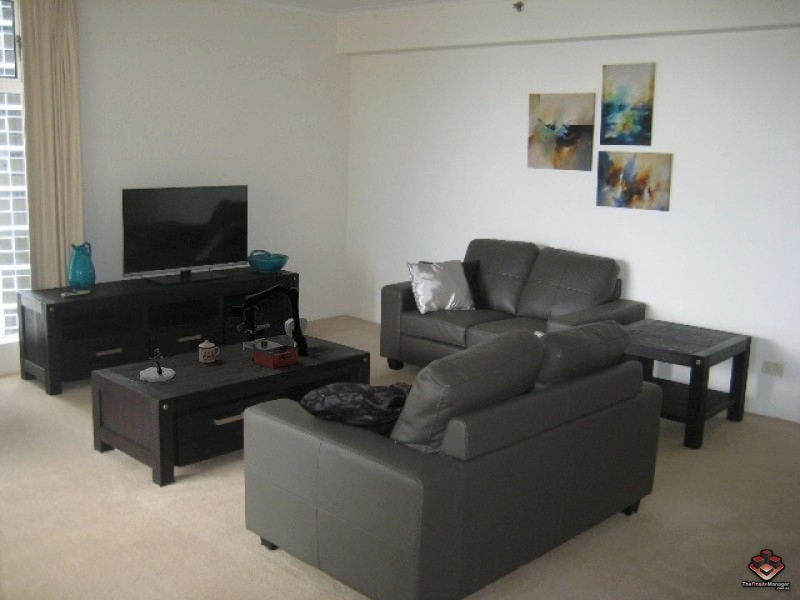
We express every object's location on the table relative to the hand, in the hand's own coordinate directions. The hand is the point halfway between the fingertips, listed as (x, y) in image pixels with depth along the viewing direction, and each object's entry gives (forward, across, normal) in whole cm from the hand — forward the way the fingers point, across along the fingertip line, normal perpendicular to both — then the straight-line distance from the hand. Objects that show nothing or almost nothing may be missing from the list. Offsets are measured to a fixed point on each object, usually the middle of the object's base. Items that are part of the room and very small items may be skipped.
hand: (250, 344), depth 503 cm
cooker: (+7, +24, 0) cm, 25 cm away
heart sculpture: (+7, +5, +30) cm, 31 cm away
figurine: (+7, 0, -62) cm, 62 cm away
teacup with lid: (+6, -6, -24) cm, 26 cm away
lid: (+1, +12, 0) cm, 12 cm away
